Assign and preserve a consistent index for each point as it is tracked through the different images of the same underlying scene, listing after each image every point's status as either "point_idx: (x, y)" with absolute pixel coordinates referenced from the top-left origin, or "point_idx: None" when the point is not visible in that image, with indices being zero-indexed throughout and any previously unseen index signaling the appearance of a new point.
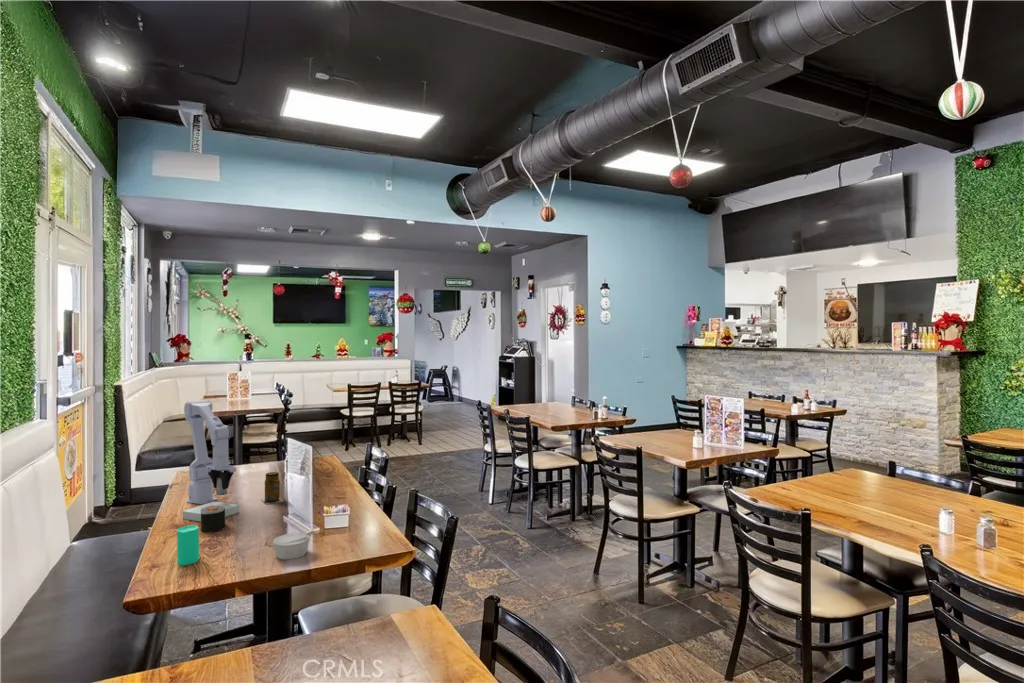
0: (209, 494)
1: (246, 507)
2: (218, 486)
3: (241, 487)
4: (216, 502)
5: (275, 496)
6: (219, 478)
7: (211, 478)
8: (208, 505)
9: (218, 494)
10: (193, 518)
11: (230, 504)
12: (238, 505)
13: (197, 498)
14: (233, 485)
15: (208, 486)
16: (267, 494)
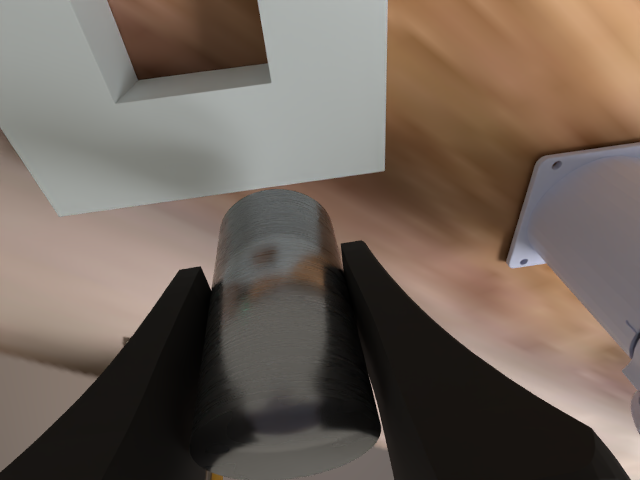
0: (557, 248)
1: (172, 264)
2: (254, 269)
3: (529, 390)
4: (324, 163)
5: None
6: (229, 403)
7: (441, 344)
8: (299, 56)
9: (257, 197)
10: None
11: (135, 188)
12: (61, 212)
13: (623, 173)
14: (589, 387)
15: (610, 291)
16: None
